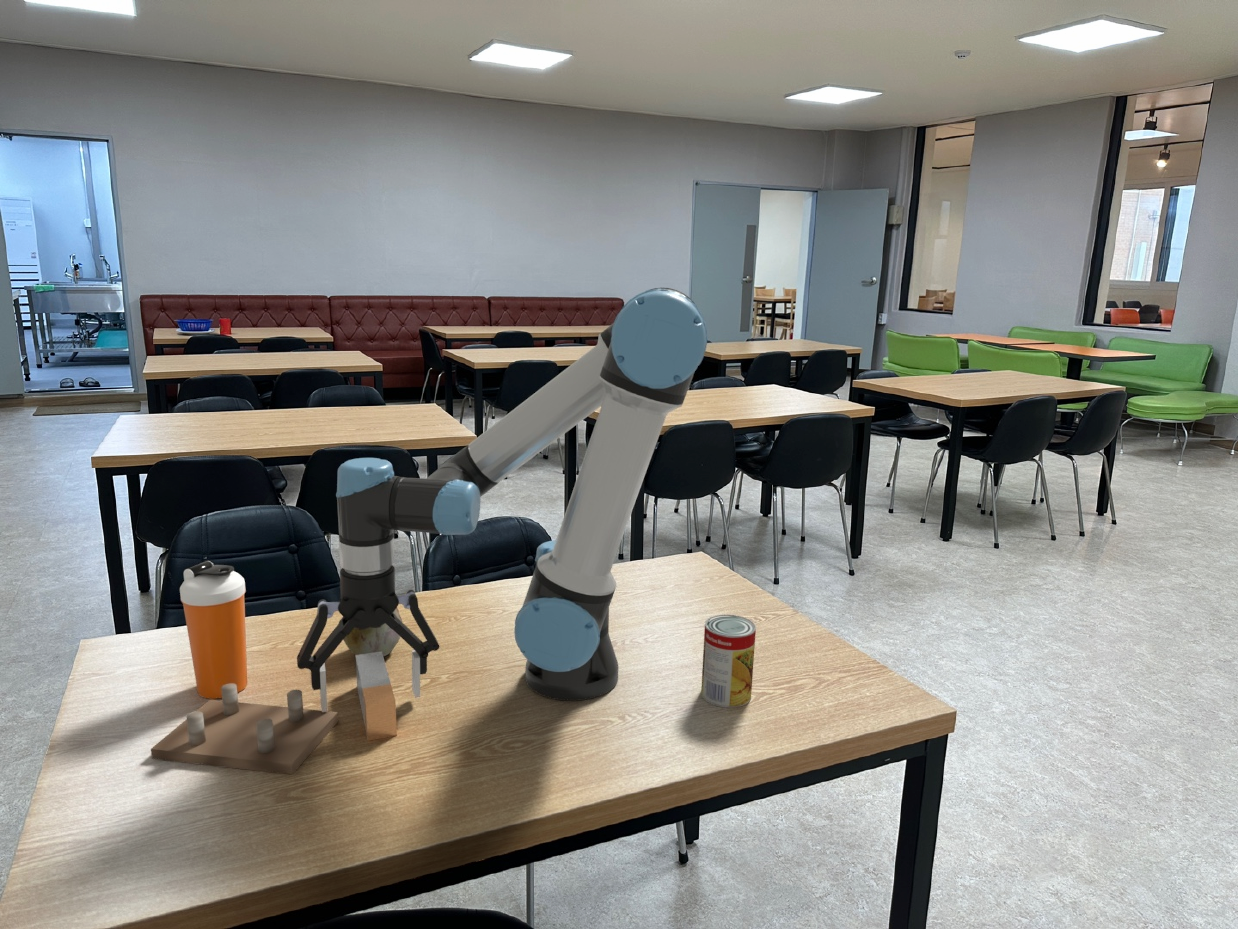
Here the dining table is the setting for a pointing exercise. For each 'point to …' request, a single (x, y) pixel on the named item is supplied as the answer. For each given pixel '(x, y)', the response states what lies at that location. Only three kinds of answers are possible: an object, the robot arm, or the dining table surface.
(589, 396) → the robot arm
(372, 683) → the bar
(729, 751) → the dining table surface
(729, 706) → the canned food
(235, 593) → the shaker bottle
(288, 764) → the peg rack
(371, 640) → the fruit
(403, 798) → the dining table surface
